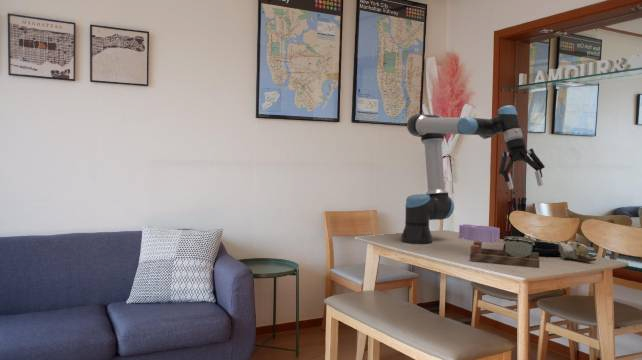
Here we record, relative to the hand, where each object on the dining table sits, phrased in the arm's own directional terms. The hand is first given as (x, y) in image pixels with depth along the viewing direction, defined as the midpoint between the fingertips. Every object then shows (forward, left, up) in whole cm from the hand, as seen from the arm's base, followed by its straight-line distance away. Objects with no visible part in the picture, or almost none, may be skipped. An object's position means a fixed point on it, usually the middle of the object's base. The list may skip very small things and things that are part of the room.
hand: (526, 187), depth 222 cm
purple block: (-23, +45, -31) cm, 59 cm away
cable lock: (+6, +20, -31) cm, 37 cm away
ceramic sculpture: (+21, +6, -31) cm, 38 cm away
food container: (-1, -11, -30) cm, 32 cm away
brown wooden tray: (-7, -11, -30) cm, 33 cm away
